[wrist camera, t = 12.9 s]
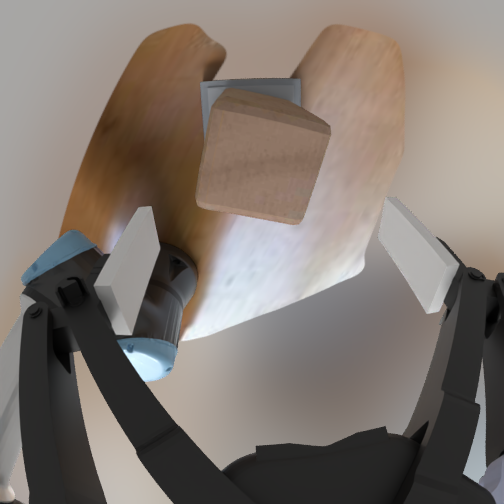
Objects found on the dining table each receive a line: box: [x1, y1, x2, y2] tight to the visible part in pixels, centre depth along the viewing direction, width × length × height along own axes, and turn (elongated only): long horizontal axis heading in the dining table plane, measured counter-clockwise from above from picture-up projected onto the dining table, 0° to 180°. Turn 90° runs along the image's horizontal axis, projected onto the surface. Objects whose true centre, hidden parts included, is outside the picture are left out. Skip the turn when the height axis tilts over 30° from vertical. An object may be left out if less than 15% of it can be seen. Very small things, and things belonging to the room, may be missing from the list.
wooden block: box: [195, 88, 331, 225], centre depth 32 cm, size 10×10×20 cm
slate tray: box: [200, 78, 301, 141], centre depth 41 cm, size 14×14×3 cm
